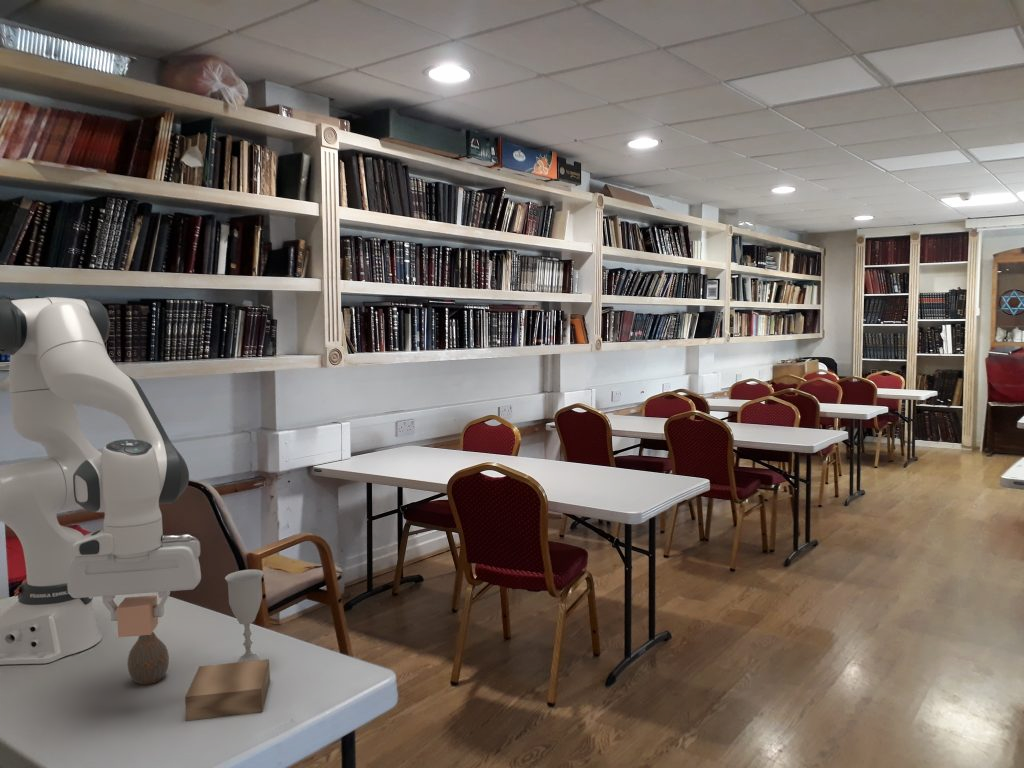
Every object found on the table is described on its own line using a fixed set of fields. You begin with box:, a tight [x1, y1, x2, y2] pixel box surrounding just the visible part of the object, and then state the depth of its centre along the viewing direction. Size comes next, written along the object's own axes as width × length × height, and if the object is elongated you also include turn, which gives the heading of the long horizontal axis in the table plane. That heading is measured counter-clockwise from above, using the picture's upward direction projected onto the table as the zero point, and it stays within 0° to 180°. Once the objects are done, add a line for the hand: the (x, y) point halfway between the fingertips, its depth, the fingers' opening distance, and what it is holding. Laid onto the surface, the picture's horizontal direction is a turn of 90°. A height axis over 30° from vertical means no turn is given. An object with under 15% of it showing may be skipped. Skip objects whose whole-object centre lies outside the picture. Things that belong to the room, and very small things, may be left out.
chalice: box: [224, 568, 265, 662], centre depth 146 cm, size 7×7×18 cm
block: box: [117, 594, 159, 638], centre depth 130 cm, size 5×5×5 cm
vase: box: [127, 631, 170, 686], centre depth 142 cm, size 7×7×9 cm
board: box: [184, 658, 271, 722], centre depth 134 cm, size 12×12×4 cm
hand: (137, 617), depth 130 cm, fingers closed on block, 5 cm apart
